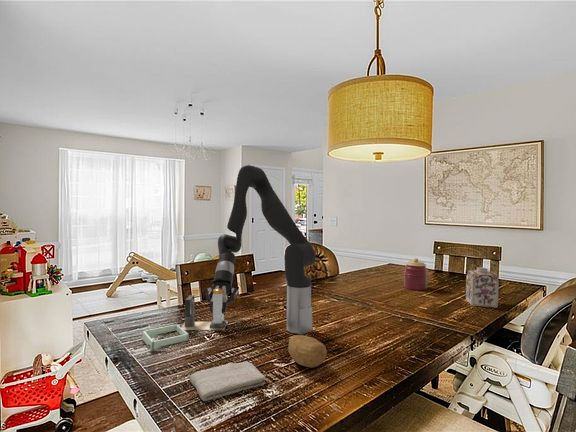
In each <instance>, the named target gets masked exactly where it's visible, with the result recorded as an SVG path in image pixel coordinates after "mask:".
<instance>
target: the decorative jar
mask: <svg viewBox="0 0 576 432" xmlns="http://www.w3.org/2000/svg"><path fill="white" fill-rule="evenodd" d="M465 279H466V280H465V283H466V284H465V300H466V301H467V302H468V303H469V304H470V305H471V306H472V307H480V308H481V307H484V308H497V309H498V306H499V284H500V283H499V282H500V281H499V277H498V274H497V273H495V272H494V271H490V270H488V268H487V267H479V266H477V267H476V269H470V270H468V271H467V273H466V278H465Z"/></svg>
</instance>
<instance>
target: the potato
mask: <svg viewBox="0 0 576 432" xmlns="http://www.w3.org/2000/svg"><path fill="white" fill-rule="evenodd" d="M287 347H288V354H289V355H290V357H291V358H292V359H293V361H294V362H295V363H296V364H298V365H300V366H303V367H307V368H311V369H313V368H317V367H318V366H320V365H321V364H323V363H324V361H325V360H326V358H327V353H328V351H327V348H326V346H325V344H324V343H323V342H321V341H319V340H318V339H316V338H314V337H312V336H308V335H307V336H306V335H305V334H297V335H293V336H291V337H290V338H289V341H288V345H287Z"/></svg>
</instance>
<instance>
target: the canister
mask: <svg viewBox="0 0 576 432" xmlns="http://www.w3.org/2000/svg"><path fill="white" fill-rule="evenodd" d="M426 266H427V264H426V263H425V262H424V261H419V258H417V257H414V258H413V260H409V261H407V262H406V263H405V266H404V272H403V276H404V277H403V278H404V279H403V280H404V281H403V287H404V288H405V289H408V290H411V291H426V290H427V289H428V272H427V271H428V267H426Z"/></svg>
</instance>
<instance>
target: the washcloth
mask: <svg viewBox="0 0 576 432" xmlns="http://www.w3.org/2000/svg"><path fill="white" fill-rule="evenodd" d="M188 379H189V381H190V383H191V385H192V386H193V387H194V388H195V389H196V392H197V394H198V396H199V397H200V399H201V400H202V401H203V402H207V401H211V400H215V399H218V398H221V397H226V396H229V395H233V394H235V393H238V392H241V391H242V390H243V391H246V390H249V389H253V387H254V388H257V387H261V386H264V384H265V385H266V381H265V380H266V375H264V374H263V373H261V372H260V370H259V369H258V368H257V367H256V366H255V365H254V364H253V363H252V362H249V361H246V360H245V361H242V362H236V363H233V362H228V363H227V364H223V365H219V366H214V367H210V368H207V369H203V370H198V371H195V372H193V373H192V374H190V376H189V378H188ZM260 385H261V386H260Z"/></svg>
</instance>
